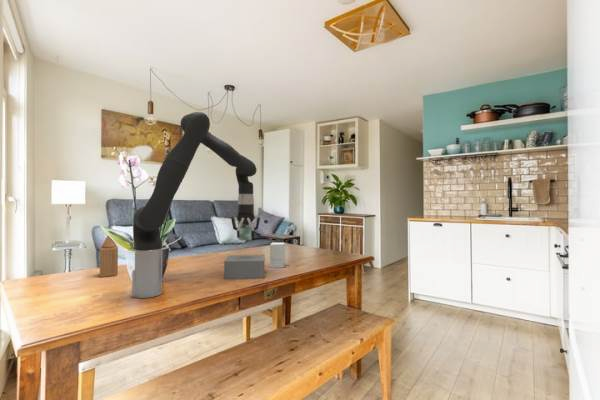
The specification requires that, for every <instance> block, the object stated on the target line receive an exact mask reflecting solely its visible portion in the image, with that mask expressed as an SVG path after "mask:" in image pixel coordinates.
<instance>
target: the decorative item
mask: <svg viewBox="0 0 600 400" xmlns="http://www.w3.org/2000/svg"><path fill="white" fill-rule="evenodd" d="M113 240H114V239H113ZM113 240H112V239H111V238H110V237H109V236H108V235H107V236H106V238H105V239H104V242H103V243H102V244H101V248H100V249H99V277H100V278H106V277H107V278H108V276H109V277H116V276H117V275H118V273H119V272H118V269H119V268H118V267H119V264H118V262H119V261H118V260H119V258H118V257H119V254H118V253H119V249H118V247H119V246H118V245H117V243H116V242H115V241H113Z"/></svg>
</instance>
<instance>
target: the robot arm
mask: <svg viewBox="0 0 600 400" xmlns="http://www.w3.org/2000/svg"><path fill="white" fill-rule="evenodd" d="M208 116H209V115H207V114H206V113H204V112H202V111H194V112H191V113H189V114H186V115H185V114H184V116H183V117H181V119H180V127H181V130H182V131H183V135H182V136H181V138H180V140H179V141H178V142H177V143H176V145H174V147H173V148H172V149H171V150H170V151H169V152H168V153H167V154H166V157H165V158H164V160H163V161H162V164H161V166H160V168H159V170H158V173H157V177H156V181H155V185H154V189H153V191H152V194H151V195H150V197H149V199H148V201H147V202H146V204H145V206H141V207H139V208H138V209H137V210H136V211H135V213H134V214H133V218H132V223H133V225H132V228H133V236H132V237H133V243H134V270H132V275H131V277H132V278H131V280H132V282H131V283H132V284H131V285H132V286H131V288H132V289H131V297H132V298H138V299H146V298H147V299H149V298H153V297H157V296H158V297H159V296H160V295H161V294H162V293H163V240H162V238H161V233H160V231H161V230H160V228H162V226H163V225H164V223H165V220H166V217H167V215H168V212H169V210H170V207H171V203H172V201H173V200H174V197H175V195H176V193H177V191H178V190H179V188H180V186H181V184H182V182H183V180H184V179H185V177H186V174H187V173H188V170H189V167H190V166H191V163H192V161H193V159H194V157H195V154H196V152H197V151H198V148H199V147H200V145H201V144H202V145H204V146H205V147H207V149H209V150H211V151H212V152H213V153H215V154H216V155H217V156H218V157H219V158H220V159H221V160H223V161H224V163H227V165H229V166H231V167H234V168H235V177H236V180H237V184H238V195H237V216H233V217H231V224H232V229H233V230H234V231H236V237H237V238H238V240H239V229H240V228H242V226H244V225H249V228H251V229H252V231H251V239H254V237H255V231H256V230H258V229H259V225H260V220H261V218H260V217H258V216H255V213H254V211H255V210H254V208H255V204H254V203H255V199H254V184H253V182H251V181H249V177H253V176H254V175H256V173H257V172H258V171H257V165H256V164H255V163H254V162H253V161H252V160H251V159H248V158H247V157H246V156H244V155H242V154H240V152H238V151H237V150H236V149H234V147H232V146H231V144H229V143H228V142H225V140H222V139H220V138H218V137H217V136H215V135H213V134H212V133H211V132H209V130H210V126H211V121H210V118H209V117H208ZM254 220H255V222H256V224H255V226H254V224H253V221H254ZM236 221H238V222H239V224H238V226H237V225H236Z"/></svg>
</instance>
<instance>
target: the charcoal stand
mask: <svg viewBox="0 0 600 400" xmlns="http://www.w3.org/2000/svg"><path fill="white" fill-rule="evenodd" d="M265 255H266V254H264V253H263V254H260V253H259V254H228V255H227V257H226V258H225V260H224V261H223V264H224V266H223V273H224V274H223V276H224V277H223V279H224V280H233V279H234V280H235V279H236V280H238V279H239V280H241V279H243V280H244V279H245V280H246V279H247V280H248V279H265V271H266V270H265V267H266V266H265V261H266V260H265V259H266V257H265Z"/></svg>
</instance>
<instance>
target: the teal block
mask: <svg viewBox="0 0 600 400" xmlns="http://www.w3.org/2000/svg"><path fill="white" fill-rule="evenodd" d="M251 231H252V229H251V227H241V228H240V229H239V239H238V240H239V241H252V239H251Z"/></svg>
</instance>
